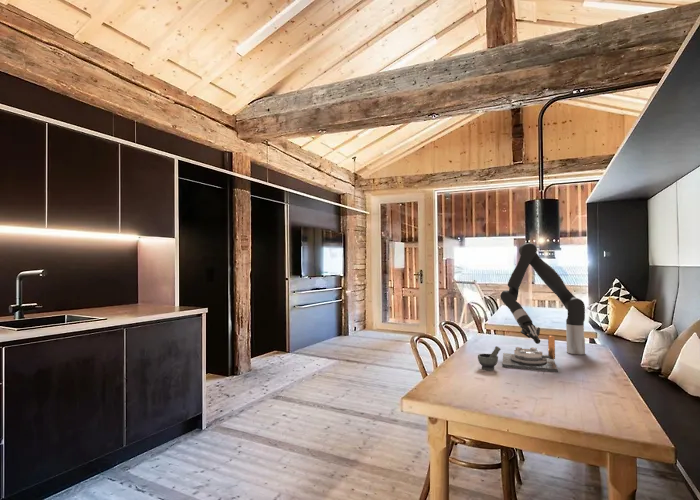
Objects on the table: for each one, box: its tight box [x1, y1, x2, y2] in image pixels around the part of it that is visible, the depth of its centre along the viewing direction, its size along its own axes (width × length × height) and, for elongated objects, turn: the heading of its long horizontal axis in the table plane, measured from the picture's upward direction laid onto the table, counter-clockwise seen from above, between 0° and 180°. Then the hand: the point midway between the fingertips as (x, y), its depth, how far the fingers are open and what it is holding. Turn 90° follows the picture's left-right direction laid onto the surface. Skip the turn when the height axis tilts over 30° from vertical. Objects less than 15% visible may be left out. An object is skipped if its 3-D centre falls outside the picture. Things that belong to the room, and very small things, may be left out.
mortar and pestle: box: [477, 346, 501, 372], centre depth 201 cm, size 11×9×12 cm
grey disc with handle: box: [513, 335, 556, 361], centre depth 212 cm, size 21×14×12 cm
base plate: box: [501, 352, 559, 373], centre depth 212 cm, size 26×26×3 cm
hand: (538, 342), depth 220 cm, fingers closed
